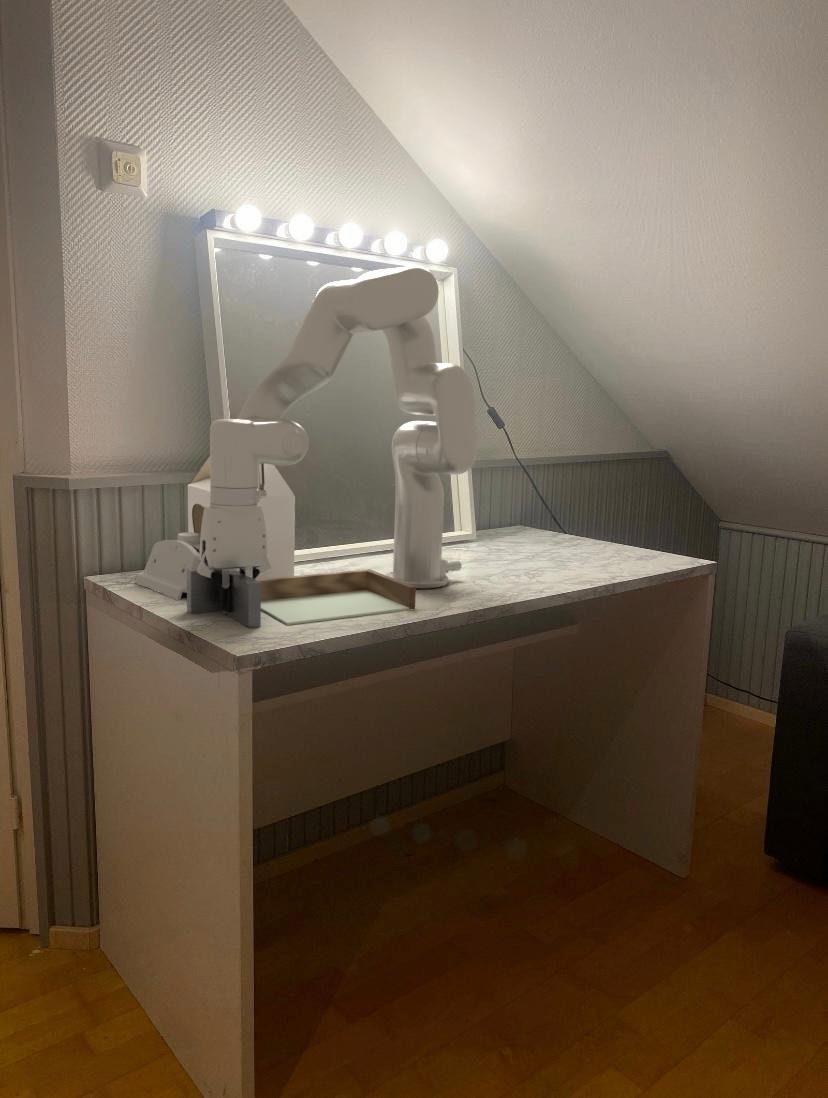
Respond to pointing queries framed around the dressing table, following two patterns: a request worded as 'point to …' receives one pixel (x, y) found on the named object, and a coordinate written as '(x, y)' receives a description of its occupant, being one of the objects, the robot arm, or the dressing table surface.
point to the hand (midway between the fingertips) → (234, 608)
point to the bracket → (243, 596)
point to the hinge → (169, 567)
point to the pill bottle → (189, 538)
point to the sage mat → (329, 607)
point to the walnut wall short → (391, 589)
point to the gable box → (275, 511)
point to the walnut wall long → (313, 584)
